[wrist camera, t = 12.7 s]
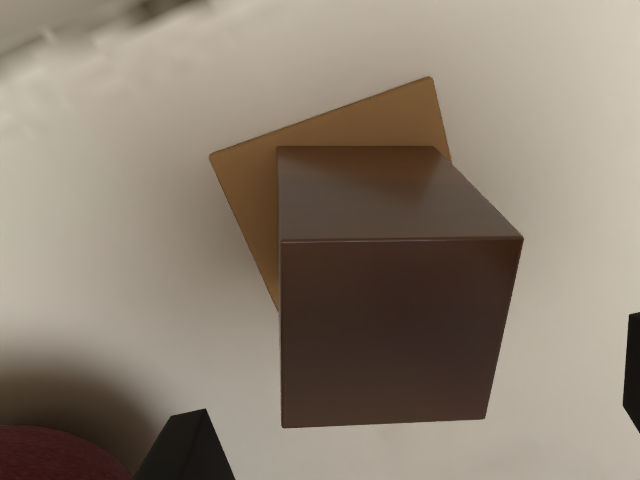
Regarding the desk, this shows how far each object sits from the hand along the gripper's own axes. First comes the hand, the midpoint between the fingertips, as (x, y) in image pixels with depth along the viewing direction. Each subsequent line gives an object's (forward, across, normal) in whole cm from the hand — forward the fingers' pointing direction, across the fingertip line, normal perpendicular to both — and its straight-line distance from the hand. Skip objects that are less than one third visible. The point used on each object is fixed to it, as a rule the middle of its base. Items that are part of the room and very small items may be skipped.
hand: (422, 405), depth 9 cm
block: (+8, 0, 0) cm, 8 cm away
